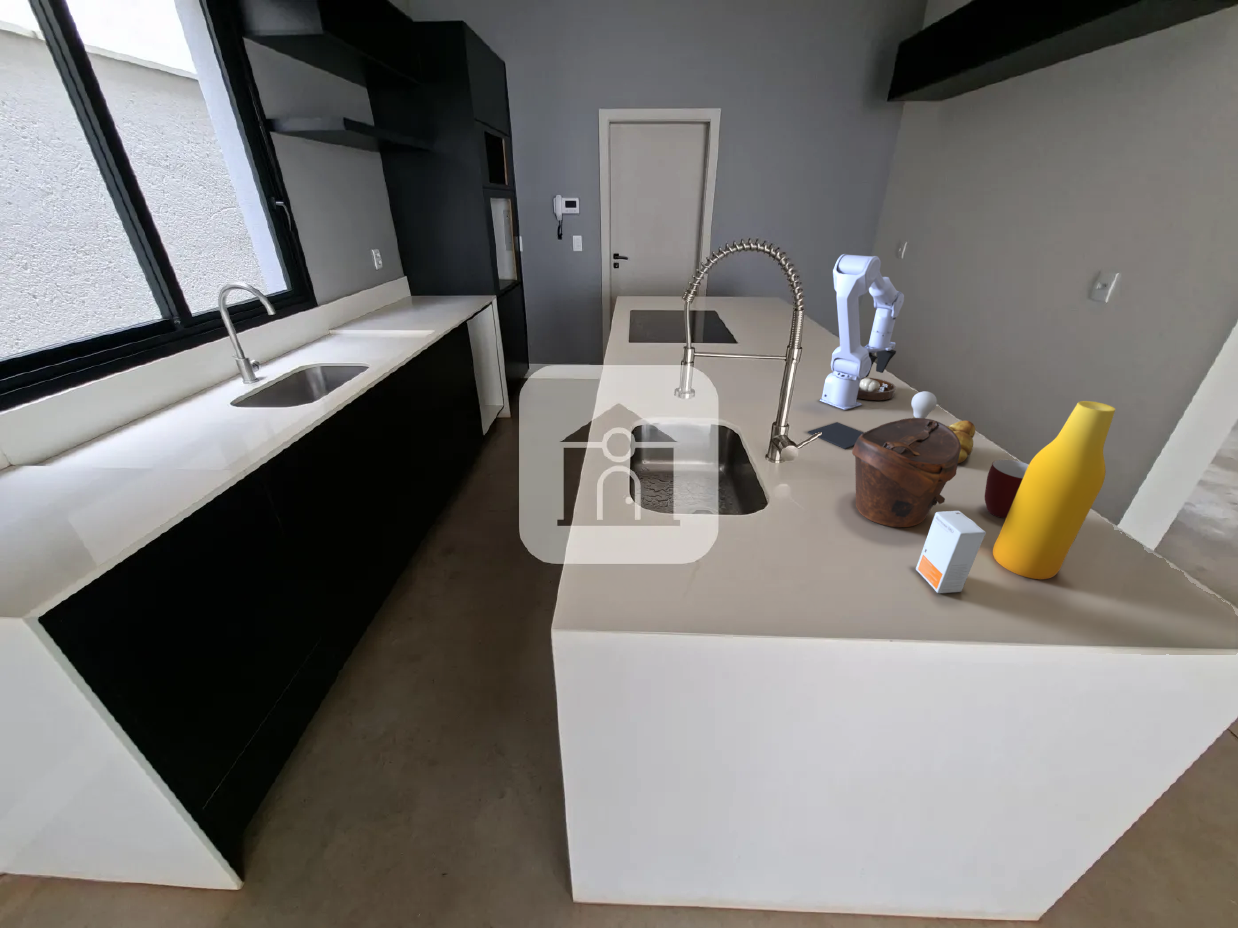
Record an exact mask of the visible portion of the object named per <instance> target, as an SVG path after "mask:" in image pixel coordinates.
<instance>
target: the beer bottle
mask: <svg viewBox="0 0 1238 928" xmlns="http://www.w3.org/2000/svg"><path fill="white" fill-rule="evenodd" d="M1115 413H1116V408H1115V407H1114V406H1112V405H1109V404H1106V403H1102V402H1099V401H1090V400H1081V401H1078V402H1077V403H1076V405H1075V406H1074V408H1073V410H1072V411H1071V413H1070V414H1069V416H1068V418H1067V420H1066V422H1065V423H1064V425H1063V426H1062V428H1061V430H1060V431H1059V433H1058V434H1057V436H1056V437H1055V438H1054V439H1053V440H1051V442H1049V444H1047V445H1045V446H1044V447H1043V448H1041V450H1039V451H1038V452H1037V453H1036V454H1035V455H1034V457H1033V458H1032V459H1031V460H1030V462H1029V463H1028V464H1029V466H1028V467H1027V470H1026V472H1025V475H1024V477H1023V480H1022V482H1021V484H1020V487H1019V489H1018V491H1017V494H1016V496H1015V498H1014V501H1013V503H1012V506H1011V508H1010V510H1009V513H1008V515H1007V517H1006V518H1005V520H1004V522H1003V525H1002V526H1001V529H1000V531H999V534H998V535H997V538H996V540H995V542H994V544H993V547H992V555H993V558H994V560H995V561H996V562H997V563H998V564H999V565H1000V566H1001V567H1003V569H1005V570H1007V571H1009V572H1011V573H1014V574H1015V575H1018V576H1020V577H1024V578H1028V579H1034V580H1048V579H1051V578H1054V577H1055V576H1056V575H1057V574H1058V573H1059V571H1061V568H1062V566H1063V564H1064V562H1065V559H1066V557H1067V555H1068V554H1069V551H1070V549H1071V548H1072V545H1073V543H1074V542H1075V539H1076V537H1077V536H1078V534H1079V533H1080V531H1081V528H1082V527H1083V524H1084V522H1085V520H1086V519H1087V516H1088V514H1089V512H1090V510H1091V508H1092V507H1093V505H1094V503H1095V501H1096V499H1097V497H1098V496H1099V493H1100V491H1101V490H1102V488H1103V486H1104V483H1105V480H1106V479H1105V478H1106V474H1107V473H1106V472H1107V471H1106V470H1107V469H1106V461H1105V456H1104V447H1105V444H1106V440H1107V436H1108V434H1109V431H1110V428H1111V425H1112V422H1113V419H1114V417H1115V416H1114V415H1115Z"/></svg>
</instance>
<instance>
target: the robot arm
mask: <svg viewBox="0 0 1238 928" xmlns="http://www.w3.org/2000/svg"><path fill="white" fill-rule="evenodd" d="M881 266H882V260H881V259H880V257H879V256H878V255H872V256H871V255H858V254H848V253H843V254H840V256H839V257H838V258H837V260H836V262H835V265H834V267H833V269H832V277H833V289H834V290H835V292H836V307H837V308H836V309H837V321H838V322H837V323H838V334H839V335H838V336H839V346H837V347H836V348H834V349H835V350H834V351H833V352H832V354H831V361H830V368H831V371H832V372H830V373H829V374H828V375H827V376H826V378H825V380H824V384H823V390H822V395H821V398H819V401H820V402H822V403H825V404H827V405H830V406H833V407H834V408H835V407H836V408H838V409H841V410H844V411H847V410H850V409H853V408H856V407H860V406H862V403H861V402H859V401H857V399H858V398H857V395H858V390H859V386H860V381H861V378H864V377H868V378H869V376H870V374H871V370H872V367H873V365H874V363H875V361H876V366H875V372H877V373H880V374H882V373H884V372H885V370H886V368H887V366H888V364H889V363H890V361H891V360H892V359H893V357H894V356H895V355H896V354H897V350H894V349H895V348H896V345H897V343H896V342H894V341H891V339H892V335H893V331H894V328H895V323H896V319H897V317H899V315H900V311H901V309H902V307H903V305H904V302H905V294H904V293H903V292H902V291H901V290H897V289H896V287H895V286H894V284H893V282H892V281H891V278H890V277H889V276H883V275H882V272H881V271H880V270H881ZM868 292H869V294H870V295H871V297H872V299H873V308H875V309H876V310H875V315H874V320H873V324H872V328H871V333H870V338H869V342H868V344H866V345H865V346H862V344H861V327H860V305H859V304H860V303H859V301H860V300H859V298H860V297H861V296H864V295H865V294H867V293H868ZM875 353H876V356H875V355H874V354H875Z"/></svg>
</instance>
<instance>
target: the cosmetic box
mask: <svg viewBox="0 0 1238 928" xmlns="http://www.w3.org/2000/svg"><path fill="white" fill-rule="evenodd" d="M986 534H987V533H986V530H984V529H983V528H981V527H980V526H979V525H978V524H977V523H976V522H975V521H974V520H972V519H971V518H969V517H968V516H967V515H965V514H964V513H963V512H962V511H960V510H948V511H946V510H945V511H936V512H935V513H934V516H933V518H932V522H931V525H930V528H929V530H928V534H927V536H926V539H925V542H924V543H923V544H924V545H923V546H922V550H921V553H920V556H919V558H918V561H917V564H916V567H915V570H916V572H917V573H919V574H920V576H921V577H922V578H923V580H925V581H926V582H927V583H928V584H929V585H930V587H931V588H932V589H933V590H934V591H935V592H936V593H937V594H947V593H960V592H962V591H963V589H964V587H965V585H966V582H967V579H968V578H969V577H968V576H969V574H970V572H971V569H972V567H973V566H974V562H975V561H976V558H977V555H978V553H979V550H980V547H981V545H982V543H983V542H984V541H983V540H984V539H985V536H986Z"/></svg>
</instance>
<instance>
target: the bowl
mask: <svg viewBox="0 0 1238 928" xmlns="http://www.w3.org/2000/svg"><path fill="white" fill-rule="evenodd" d="M864 378H869V379H873V380H876V381H878V382H879V384H880V388H879V390H878V391H877V392H871V391H864V390H861V389H860V388H859V390H858V395H857V399H861V400H866V401H885V400H890V399H892V398H893V397H895V393H896V390H897V386H896V385H895V384H894V383H892V382H890V381H887V380H884V379H880V378H875V377H869V376H868V377H864ZM864 378H861V380H862V379H864Z"/></svg>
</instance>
